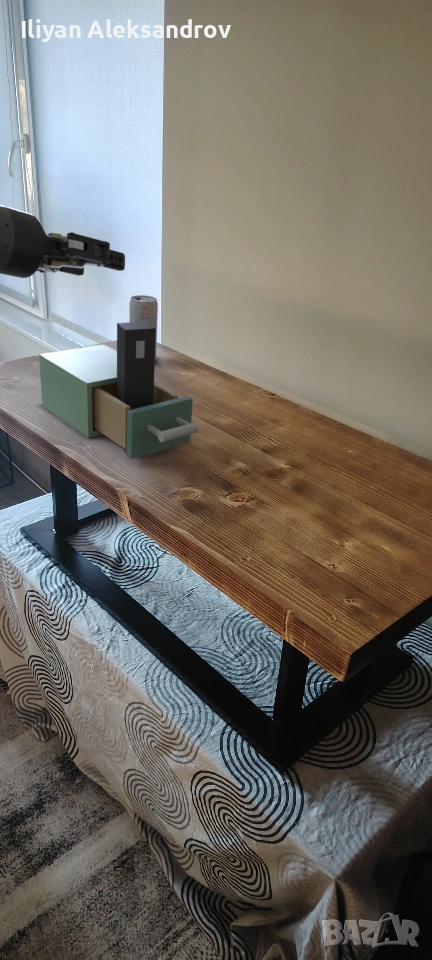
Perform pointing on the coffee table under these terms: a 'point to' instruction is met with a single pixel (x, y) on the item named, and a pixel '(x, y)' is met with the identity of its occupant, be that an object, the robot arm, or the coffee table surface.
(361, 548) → the coffee table surface
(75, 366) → the cabinet
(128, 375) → the black post
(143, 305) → the energy drink
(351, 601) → the coffee table surface
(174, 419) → the drawer
